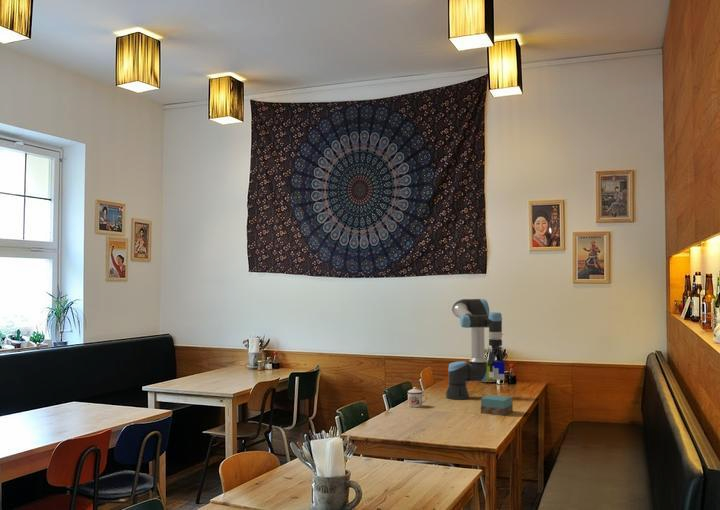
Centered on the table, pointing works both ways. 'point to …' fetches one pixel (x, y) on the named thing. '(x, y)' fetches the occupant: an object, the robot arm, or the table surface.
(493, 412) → the base block
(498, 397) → the top block
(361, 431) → the table surface
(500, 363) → the puzzle toy
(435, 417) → the table surface
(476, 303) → the robot arm
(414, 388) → the teacup with lid
